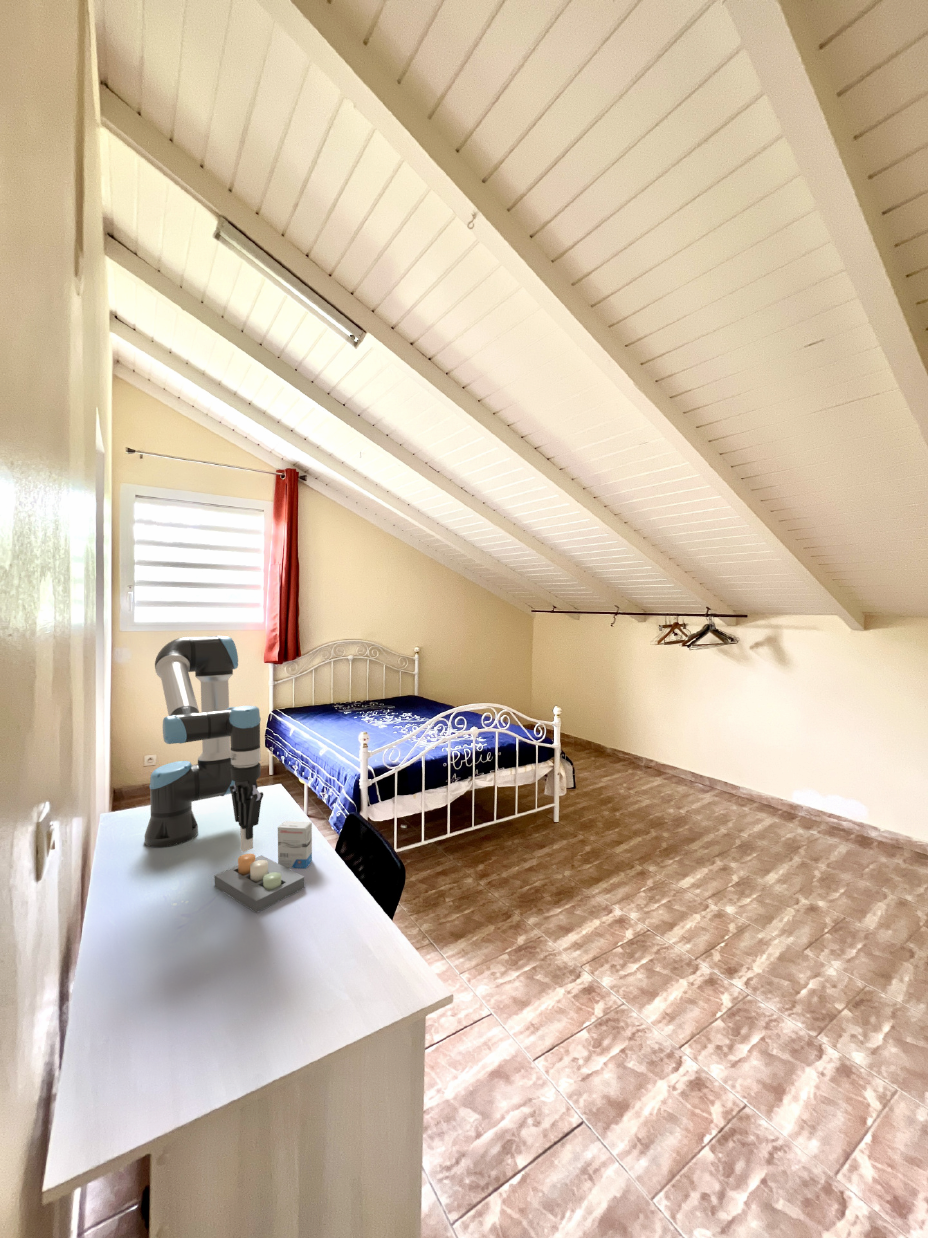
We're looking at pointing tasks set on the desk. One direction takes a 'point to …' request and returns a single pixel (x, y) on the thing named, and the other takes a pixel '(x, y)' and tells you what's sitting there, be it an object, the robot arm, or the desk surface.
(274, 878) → the green button
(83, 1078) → the desk surface
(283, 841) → the ink box
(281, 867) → the panel
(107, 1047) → the desk surface
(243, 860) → the orange button
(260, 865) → the cream button
